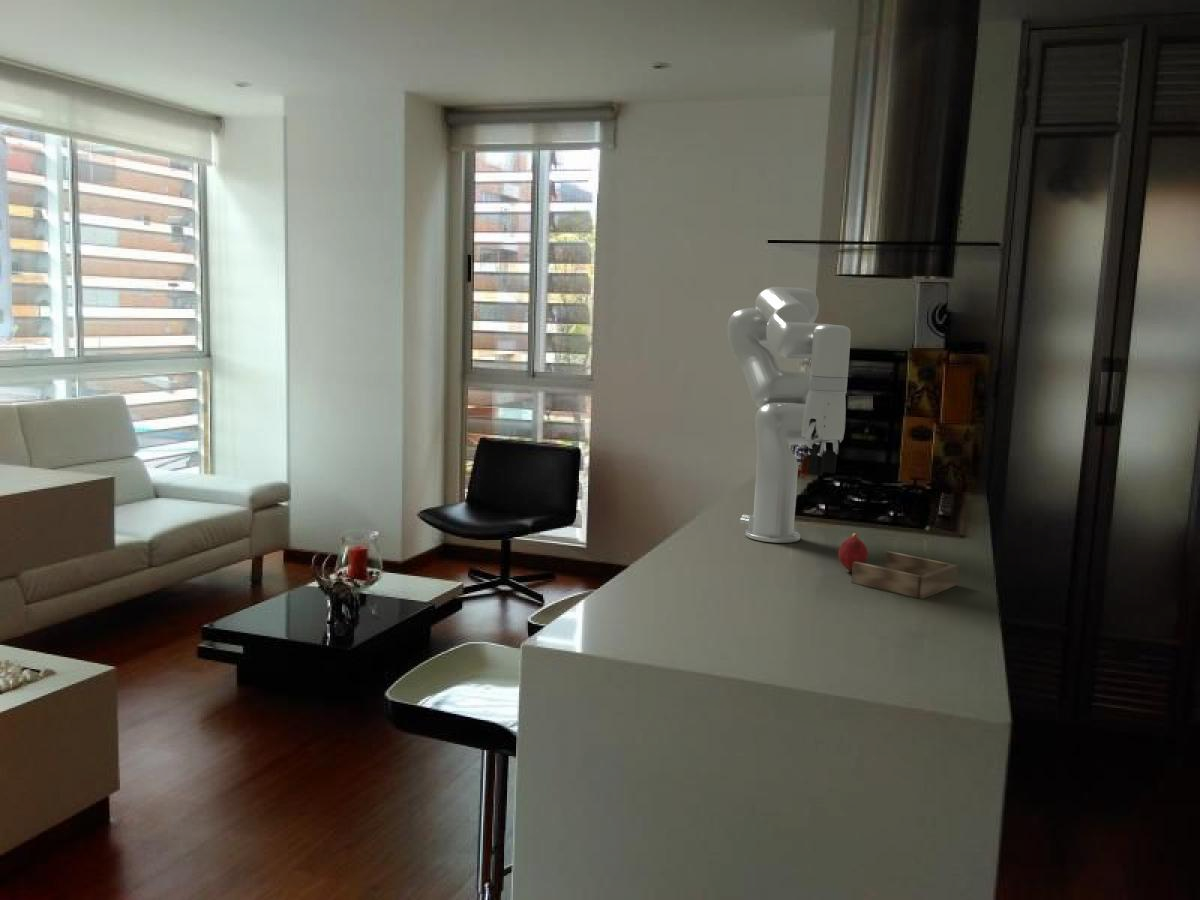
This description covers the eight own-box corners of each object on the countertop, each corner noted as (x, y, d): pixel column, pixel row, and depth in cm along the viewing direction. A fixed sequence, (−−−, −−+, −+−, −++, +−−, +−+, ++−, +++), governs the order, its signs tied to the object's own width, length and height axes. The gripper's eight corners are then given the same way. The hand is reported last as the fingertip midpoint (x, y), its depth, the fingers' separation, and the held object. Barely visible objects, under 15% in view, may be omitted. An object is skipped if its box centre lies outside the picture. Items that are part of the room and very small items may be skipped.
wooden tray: (851, 582, 187) (852, 562, 187) (887, 569, 198) (888, 551, 198) (922, 599, 178) (924, 578, 177) (956, 585, 189) (958, 565, 188)
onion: (867, 576, 192) (870, 537, 191) (837, 574, 193) (840, 535, 192) (865, 569, 198) (868, 531, 197) (836, 567, 199) (839, 529, 198)
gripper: (832, 383, 205) (826, 467, 207) (790, 385, 193) (784, 474, 195) (864, 386, 200) (857, 472, 202) (823, 387, 188) (816, 479, 190)
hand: (821, 472), depth 199 cm, fingers open, 4 cm apart
